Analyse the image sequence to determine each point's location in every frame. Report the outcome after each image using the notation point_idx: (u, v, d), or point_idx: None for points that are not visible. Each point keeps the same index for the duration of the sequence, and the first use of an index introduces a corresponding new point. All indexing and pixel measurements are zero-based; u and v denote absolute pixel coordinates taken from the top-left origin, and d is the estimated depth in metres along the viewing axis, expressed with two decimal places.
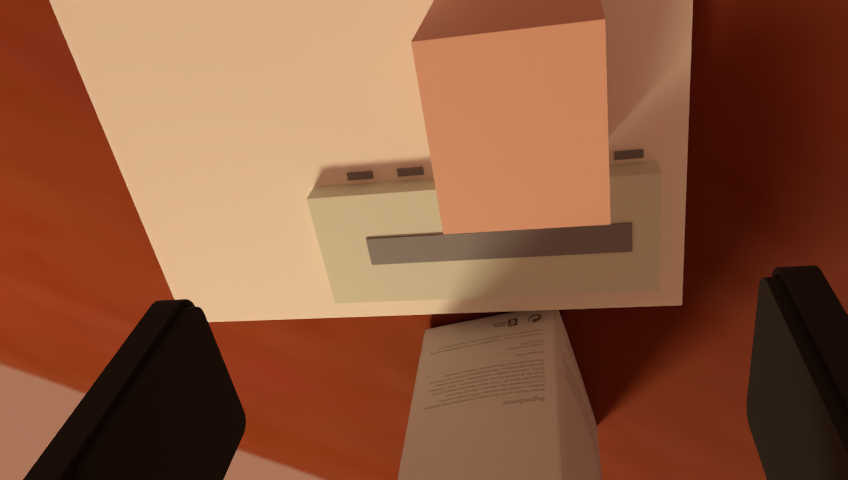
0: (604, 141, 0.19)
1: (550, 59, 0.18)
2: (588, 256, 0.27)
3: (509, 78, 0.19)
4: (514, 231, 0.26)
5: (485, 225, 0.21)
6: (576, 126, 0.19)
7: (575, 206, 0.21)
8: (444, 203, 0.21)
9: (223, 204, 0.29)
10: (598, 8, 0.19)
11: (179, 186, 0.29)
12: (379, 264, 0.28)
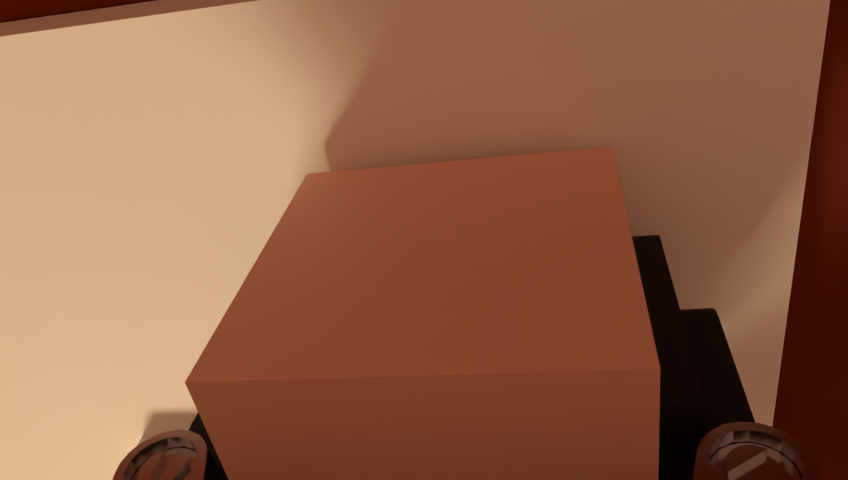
0: None
1: (519, 433, 0.07)
2: None
3: (425, 458, 0.08)
4: None
5: None
6: None
7: None
8: None
9: (5, 451, 0.18)
10: (635, 300, 0.08)
11: None
12: None
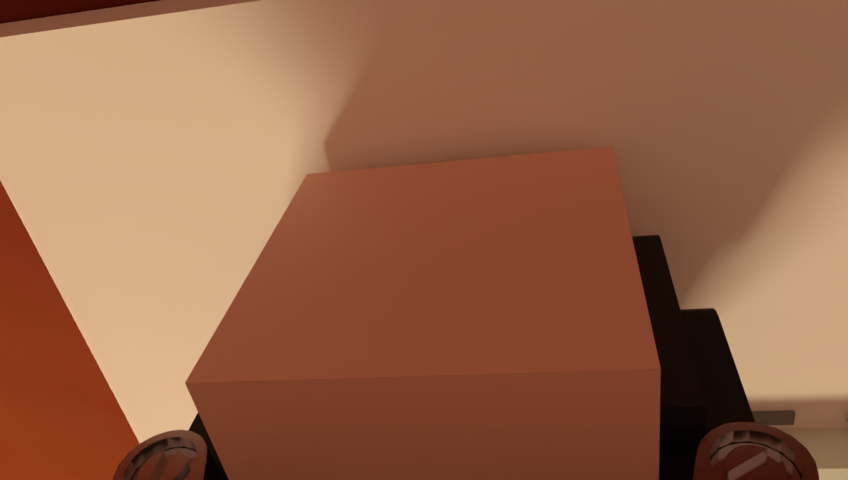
0: None
1: (520, 433, 0.07)
2: None
3: (425, 459, 0.08)
4: None
5: None
6: None
7: None
8: None
9: None
10: (635, 300, 0.08)
11: None
12: None
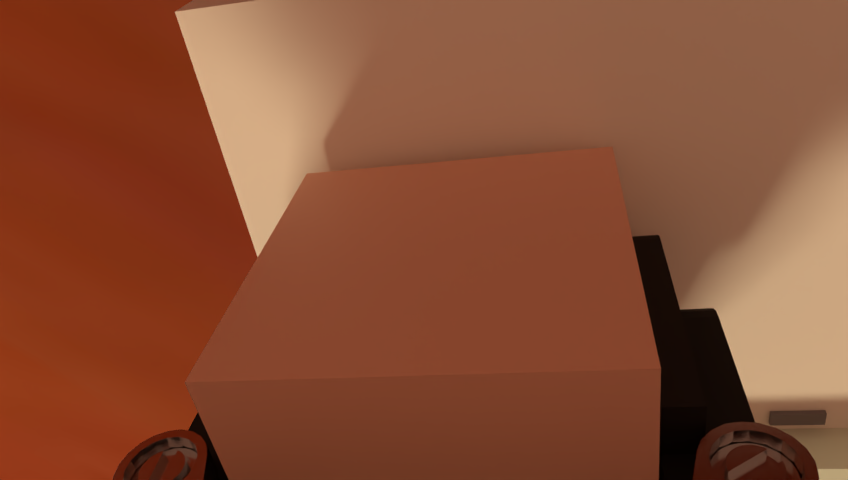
0: None
1: (519, 434, 0.07)
2: None
3: (425, 459, 0.08)
4: None
5: None
6: None
7: None
8: None
9: None
10: (635, 300, 0.08)
11: None
12: None
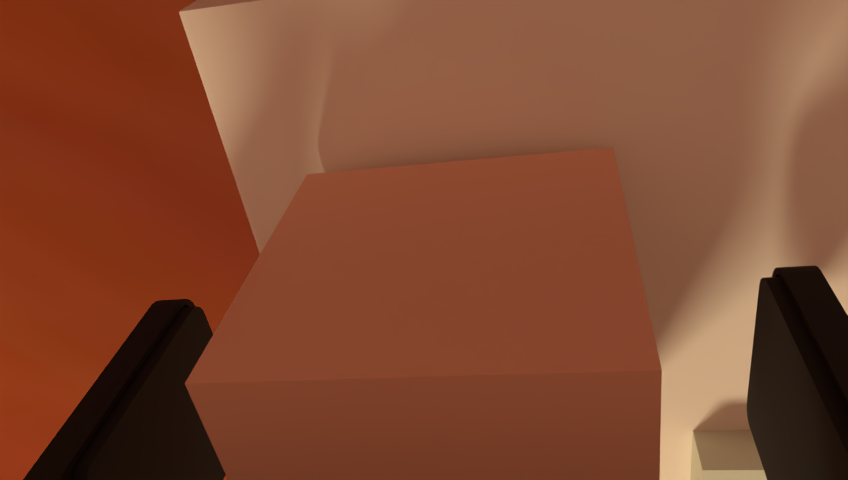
0: None
1: (520, 435, 0.07)
2: None
3: (426, 461, 0.08)
4: None
5: None
6: None
7: None
8: None
9: None
10: (636, 301, 0.08)
11: None
12: None
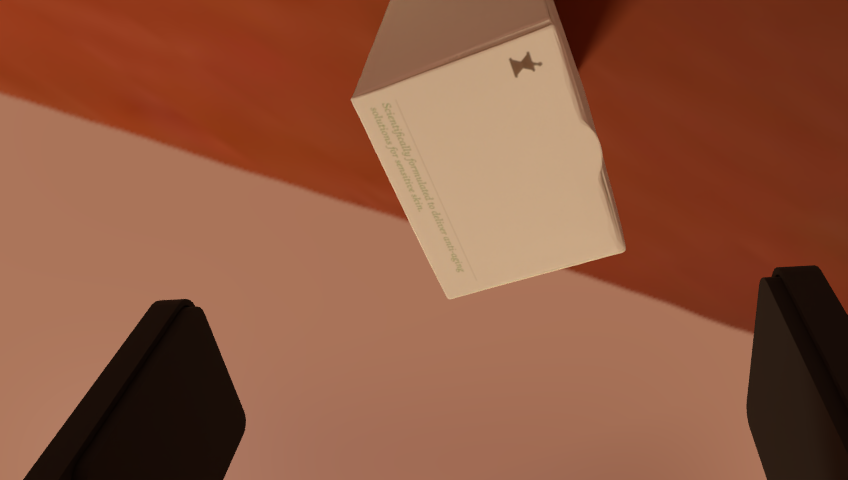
0: None
1: None
2: None
3: None
4: None
5: None
6: None
7: None
8: None
9: None
10: None
11: None
12: None
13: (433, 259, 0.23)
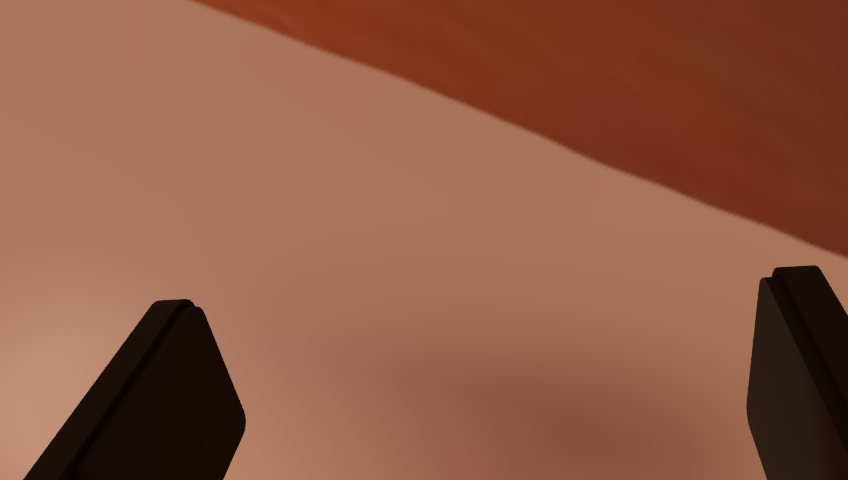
0: None
1: None
2: None
3: None
4: None
5: None
6: None
7: None
8: None
9: None
10: None
11: None
12: None
13: None
